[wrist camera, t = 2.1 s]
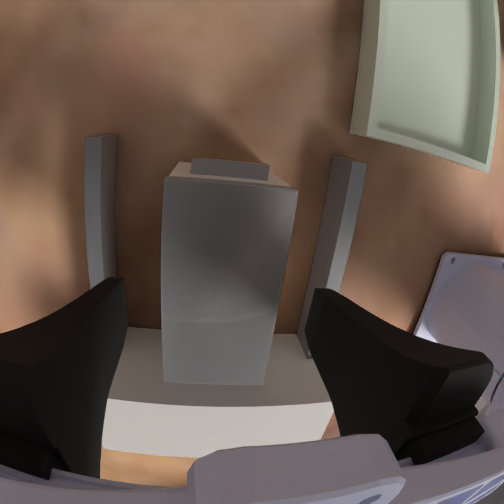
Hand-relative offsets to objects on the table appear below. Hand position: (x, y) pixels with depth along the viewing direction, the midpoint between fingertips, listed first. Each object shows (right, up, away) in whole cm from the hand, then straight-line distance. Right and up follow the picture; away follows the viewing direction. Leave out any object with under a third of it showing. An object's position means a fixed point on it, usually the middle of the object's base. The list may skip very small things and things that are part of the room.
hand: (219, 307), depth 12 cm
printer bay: (-1, 0, +6) cm, 6 cm away
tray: (+12, +14, +2) cm, 19 cm away
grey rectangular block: (-1, +2, +6) cm, 6 cm away
